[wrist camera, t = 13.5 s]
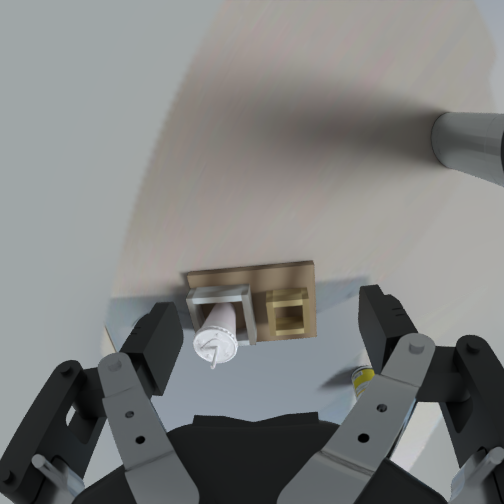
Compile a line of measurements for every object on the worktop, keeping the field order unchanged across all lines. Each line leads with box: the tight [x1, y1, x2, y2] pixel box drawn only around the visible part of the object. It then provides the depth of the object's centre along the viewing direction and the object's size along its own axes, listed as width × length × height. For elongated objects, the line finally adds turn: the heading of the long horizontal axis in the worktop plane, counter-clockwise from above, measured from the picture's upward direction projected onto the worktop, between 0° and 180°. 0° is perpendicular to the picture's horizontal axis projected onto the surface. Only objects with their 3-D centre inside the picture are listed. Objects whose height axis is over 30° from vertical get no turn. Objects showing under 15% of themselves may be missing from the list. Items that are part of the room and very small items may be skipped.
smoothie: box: [193, 302, 238, 369], centre depth 44 cm, size 6×6×14 cm
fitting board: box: [186, 261, 317, 346], centre depth 49 cm, size 20×14×5 cm
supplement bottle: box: [351, 366, 375, 401], centre depth 52 cm, size 5×5×10 cm
